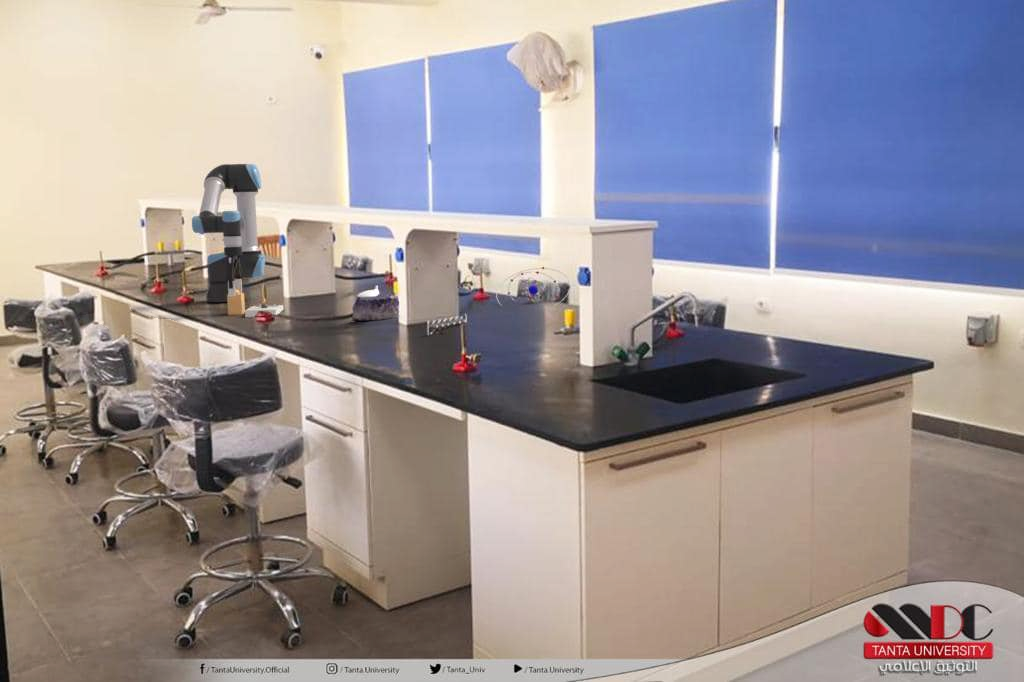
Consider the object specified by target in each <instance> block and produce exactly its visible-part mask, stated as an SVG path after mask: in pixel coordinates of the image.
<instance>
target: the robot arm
mask: <svg viewBox="0 0 1024 682" xmlns="http://www.w3.org/2000/svg"><path fill="white" fill-rule="evenodd" d="M203 187H204V191H203V197H202V201H201V205H200V210H199V214H198V215H196V216H192V218H191V227H192V231H193V233H196V234H215V233H216V234H217V233H223V234H222V235H223V238H222V240H221V241H222V242H223V246H224V248H223V252H218V253H211V254H209V255H208V256H207V265H206V266H207V275H208V276H207V278H208V286H207V287H208V288H207V291H206V295H205V302H207V303H226V302H227V303H228V301H227V295H228V294H229V296H235V289H237V290H238V291H239V292H240V293H243V284H242V280H244V279H258V278H262V277H263V275H264V274H265V272H264V271H265V267H266V255H265V253H263V252H262V249H261V247H259V244H258V243H259V242H258V229H257V227H258V226H257V225H258V224H257V209H256V208H257V206H256V195H257V194H258V193H259V190H260V189H262V180H261V175H260V170H259V168H258V166H257V165H256V164H253V163H235V164H234V163H233V164H231V163H230V164H229V163H225V164H224V163H223V164H220V165H218V166H216V167H214V168H213V169H212V170H210V171H209V172H208V173H207V175H206V176H205V178H204V181H203ZM225 190H232V194H233V195H234V196H236V197H235V198H236V209H237V210H224V211H222V214H221V215H218V212H219V208H220V203H221V202H220V201H221V198H222V193H223V192H224V191H225Z"/></svg>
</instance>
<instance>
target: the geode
mask: <svg viewBox="0 0 1024 682" xmlns="http://www.w3.org/2000/svg"><path fill="white" fill-rule="evenodd" d="M399 303H400V301H399V300H397V299H395V298H394V299H393V300H392V298H390V297H389V298H388V297H387V298H374V299H365V298H363V299H362V297H356V300H355V302H354V304H353V307H352V321H353V320H354V321H361V322H365V321H381V320H387V319H394V318H399V317H398V313H399V312H400V310H399V307H398V305H399ZM399 306H400V305H399Z"/></svg>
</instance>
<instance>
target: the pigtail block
mask: <svg viewBox="0 0 1024 682" xmlns="http://www.w3.org/2000/svg"><path fill="white" fill-rule="evenodd" d="M258 311H269V312H271V313H272V314H274V315H277V314H278V315H279V314H280V313H281V312H283V311H284V304H272V305H271V304H270V305H268V303H267V302H266V298H262V303H261V304H258V305H253V306H251V307H249V308H247V309H245V313H244V316H245V318H256V317H255V315H256V314H257V312H258ZM278 315H277V316H278Z"/></svg>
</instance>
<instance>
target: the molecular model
mask: <svg viewBox="0 0 1024 682" xmlns="http://www.w3.org/2000/svg"><path fill="white" fill-rule="evenodd" d="M464 316H465V319H463V318H464V317H463V316H460V318H459V316H457V315H456V316H455V317H454V319H453V316H452V317H450V318H447V317H445V318H444V319H443V320H442V319H441V318H439V319H438V320H437V322H436V320H433V321H430V320H427V327H426V330H427V336H430V335H433V334H435V333H436V334H439V333H440V331H436V329H437V328H438V330H442V329H441V327H443V328H444V329H447V326H452V325H458V324H462V323H467V322H468V321H467V319H468V315H467V313H465V314H464ZM429 328H433V329H432V331H431V332H430V331H429ZM435 328H436V329H435Z"/></svg>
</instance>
